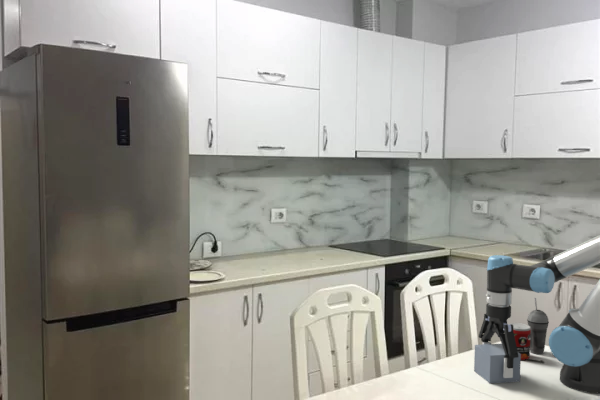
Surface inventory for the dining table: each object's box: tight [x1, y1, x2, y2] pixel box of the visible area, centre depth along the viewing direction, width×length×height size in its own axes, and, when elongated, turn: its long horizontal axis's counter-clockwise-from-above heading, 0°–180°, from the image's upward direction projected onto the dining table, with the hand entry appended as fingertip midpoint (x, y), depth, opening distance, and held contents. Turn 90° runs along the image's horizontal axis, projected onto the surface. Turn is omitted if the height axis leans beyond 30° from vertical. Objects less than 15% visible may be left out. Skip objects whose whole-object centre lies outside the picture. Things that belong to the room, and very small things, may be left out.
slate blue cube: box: [473, 343, 522, 384], centre depth 175 cm, size 10×10×9 cm
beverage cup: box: [526, 297, 550, 355], centre depth 197 cm, size 7×7×20 cm
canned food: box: [507, 322, 531, 361], centre depth 193 cm, size 8×8×11 cm
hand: (496, 369), depth 175 cm, fingers open, 13 cm apart
